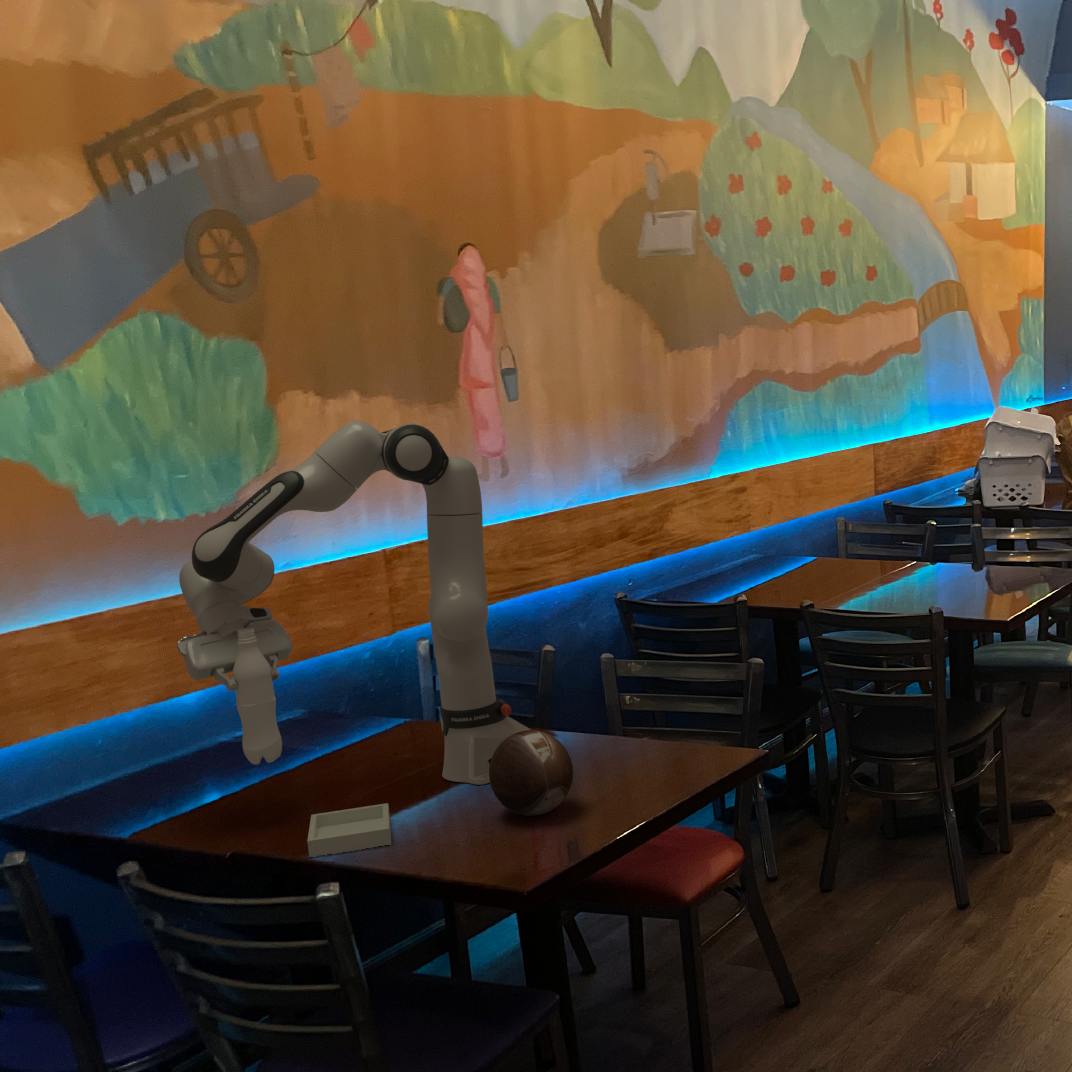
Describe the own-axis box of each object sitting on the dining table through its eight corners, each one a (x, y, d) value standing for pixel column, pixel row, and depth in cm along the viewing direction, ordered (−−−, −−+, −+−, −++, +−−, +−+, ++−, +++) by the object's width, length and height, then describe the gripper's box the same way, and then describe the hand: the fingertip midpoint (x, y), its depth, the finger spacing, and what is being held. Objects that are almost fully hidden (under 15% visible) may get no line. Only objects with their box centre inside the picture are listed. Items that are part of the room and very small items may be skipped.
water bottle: (274, 765, 222) (255, 632, 219) (238, 767, 223) (219, 635, 221) (290, 753, 229) (271, 624, 226) (255, 755, 230) (236, 627, 228)
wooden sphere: (537, 833, 206) (527, 748, 204) (476, 820, 216) (467, 738, 215) (594, 806, 217) (585, 724, 215) (534, 794, 227) (525, 716, 225)
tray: (390, 818, 222) (388, 803, 222) (391, 845, 208) (389, 828, 208) (313, 830, 221) (311, 814, 220) (309, 857, 207) (307, 841, 206)
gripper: (175, 628, 222) (204, 686, 216) (277, 606, 235) (307, 661, 228) (170, 649, 227) (198, 707, 220) (270, 627, 239) (299, 681, 232)
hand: (254, 683), depth 224 cm, fingers closed on water bottle, 7 cm apart
